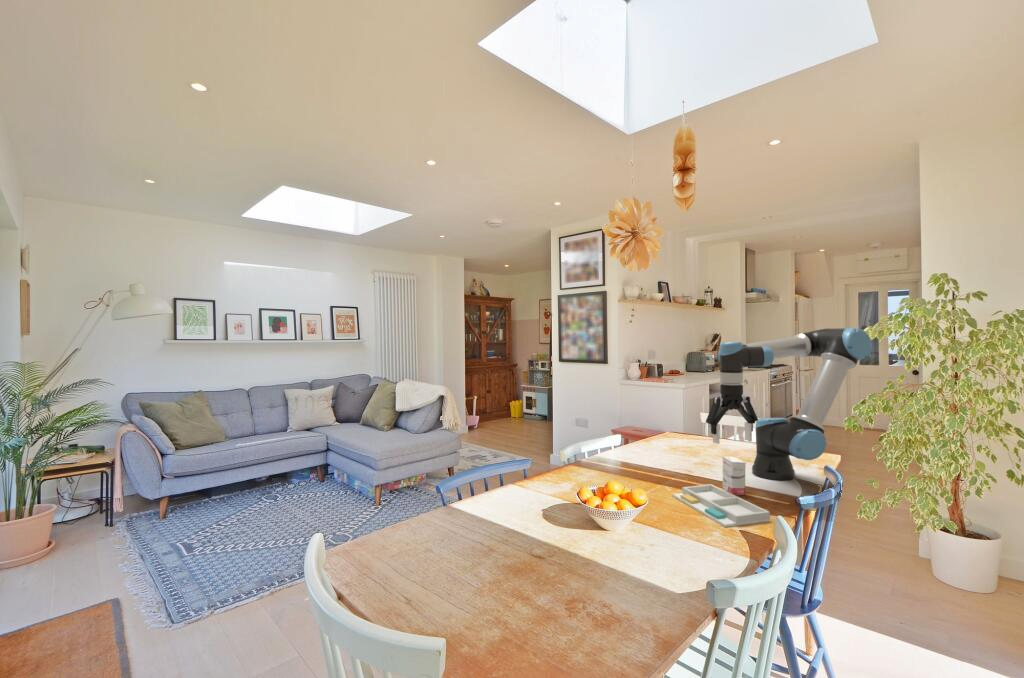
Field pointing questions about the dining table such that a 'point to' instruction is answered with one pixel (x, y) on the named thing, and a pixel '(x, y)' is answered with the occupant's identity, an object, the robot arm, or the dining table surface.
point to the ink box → (734, 475)
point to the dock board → (722, 505)
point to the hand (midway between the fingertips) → (732, 441)
